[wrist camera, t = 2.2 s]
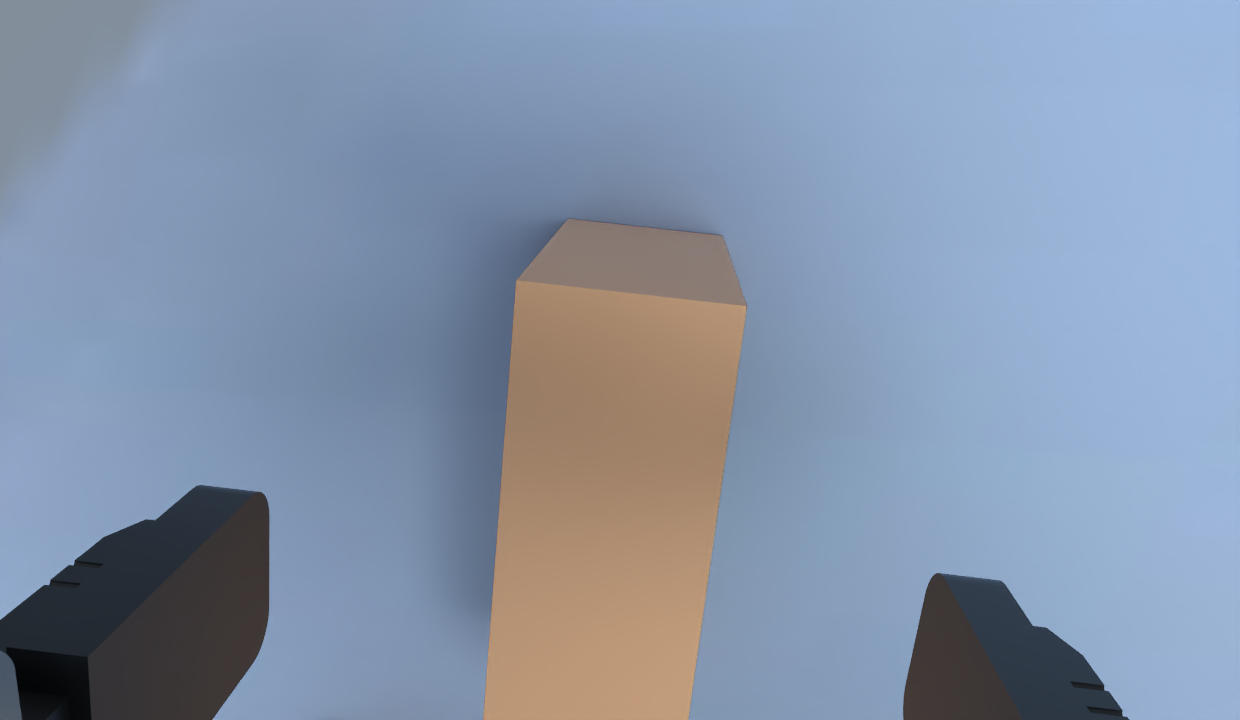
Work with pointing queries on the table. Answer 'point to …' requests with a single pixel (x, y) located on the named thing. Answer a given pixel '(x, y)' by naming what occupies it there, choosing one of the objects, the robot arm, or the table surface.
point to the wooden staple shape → (611, 472)
